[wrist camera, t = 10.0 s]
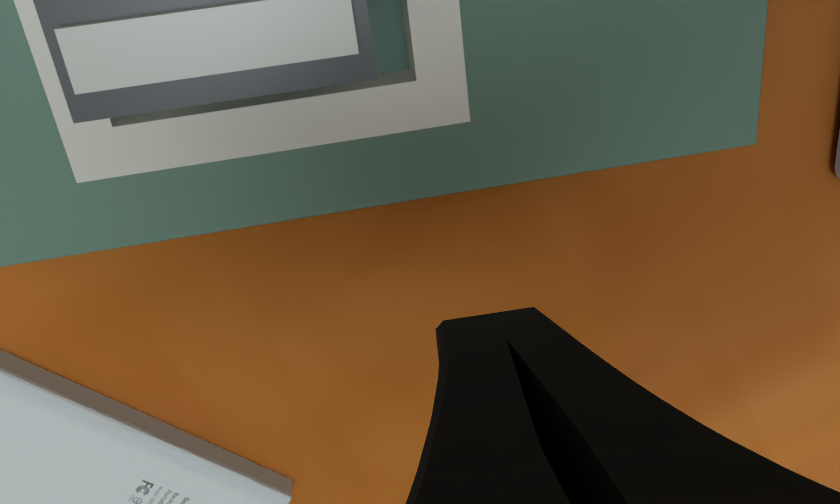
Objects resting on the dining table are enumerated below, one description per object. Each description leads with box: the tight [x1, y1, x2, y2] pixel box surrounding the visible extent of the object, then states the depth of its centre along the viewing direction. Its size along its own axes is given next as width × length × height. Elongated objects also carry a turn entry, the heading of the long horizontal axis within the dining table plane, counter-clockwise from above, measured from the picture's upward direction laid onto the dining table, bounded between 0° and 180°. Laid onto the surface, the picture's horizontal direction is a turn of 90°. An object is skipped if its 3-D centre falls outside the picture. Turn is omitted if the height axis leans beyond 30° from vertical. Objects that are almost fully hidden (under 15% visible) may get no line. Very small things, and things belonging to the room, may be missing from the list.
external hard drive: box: [0, 350, 292, 504], centre depth 21 cm, size 2×8×12 cm
